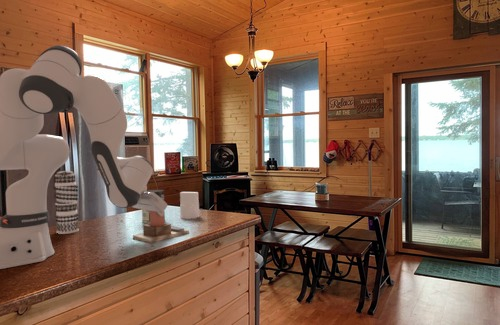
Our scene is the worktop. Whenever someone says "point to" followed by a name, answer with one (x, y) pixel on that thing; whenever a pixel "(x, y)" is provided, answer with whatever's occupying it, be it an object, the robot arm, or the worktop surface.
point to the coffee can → (146, 214)
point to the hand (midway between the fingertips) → (158, 214)
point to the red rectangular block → (156, 219)
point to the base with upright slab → (189, 205)
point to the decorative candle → (66, 202)
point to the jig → (159, 232)
